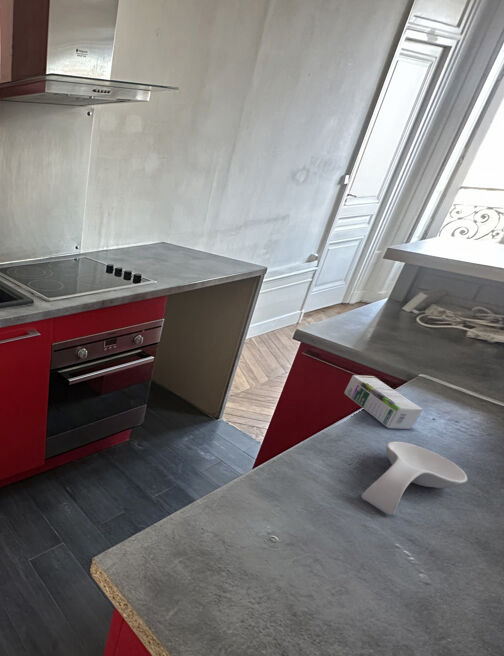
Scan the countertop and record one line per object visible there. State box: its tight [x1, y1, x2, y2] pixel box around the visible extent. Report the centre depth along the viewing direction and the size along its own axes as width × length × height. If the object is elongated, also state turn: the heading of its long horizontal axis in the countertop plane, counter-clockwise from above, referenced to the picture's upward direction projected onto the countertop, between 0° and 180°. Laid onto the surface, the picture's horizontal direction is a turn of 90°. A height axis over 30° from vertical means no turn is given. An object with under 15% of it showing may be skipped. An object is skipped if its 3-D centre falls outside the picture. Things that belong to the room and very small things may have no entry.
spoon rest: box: [360, 441, 468, 516], centre depth 77 cm, size 24×12×7 cm, turn 120°
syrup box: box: [343, 374, 423, 430], centre depth 100 cm, size 6×6×14 cm
